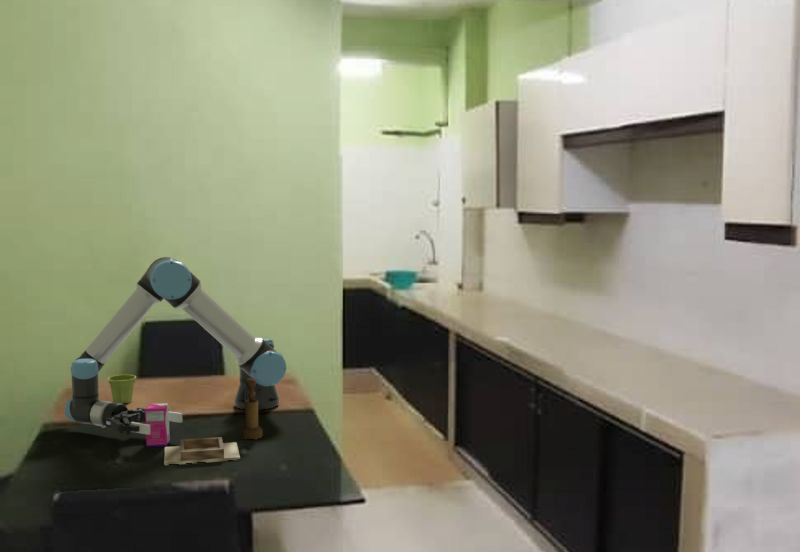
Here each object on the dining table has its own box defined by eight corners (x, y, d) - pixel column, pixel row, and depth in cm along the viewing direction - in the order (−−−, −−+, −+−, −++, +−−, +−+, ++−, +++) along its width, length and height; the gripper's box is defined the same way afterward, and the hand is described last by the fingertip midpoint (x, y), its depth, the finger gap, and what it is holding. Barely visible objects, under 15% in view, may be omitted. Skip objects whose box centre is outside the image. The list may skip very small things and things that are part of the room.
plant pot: (127, 406, 281) (127, 381, 281) (102, 404, 283) (102, 379, 282) (141, 399, 291) (141, 375, 290) (117, 397, 292) (116, 373, 292)
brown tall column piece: (266, 435, 249) (266, 376, 248) (256, 441, 243) (255, 381, 241) (247, 432, 252) (246, 374, 250) (236, 438, 245) (235, 379, 244)
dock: (236, 444, 239) (236, 433, 239) (239, 459, 226) (239, 448, 226) (164, 449, 234) (164, 438, 234) (164, 465, 221) (164, 453, 220)
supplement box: (149, 441, 242) (149, 403, 241) (170, 441, 243) (169, 402, 241) (145, 447, 236) (144, 408, 235) (166, 447, 237) (165, 408, 236)
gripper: (139, 417, 258) (194, 425, 249) (78, 438, 235) (135, 448, 227) (139, 393, 257) (193, 401, 248) (77, 412, 235) (134, 421, 226)
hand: (166, 423), depth 237 cm, fingers open, 13 cm apart
